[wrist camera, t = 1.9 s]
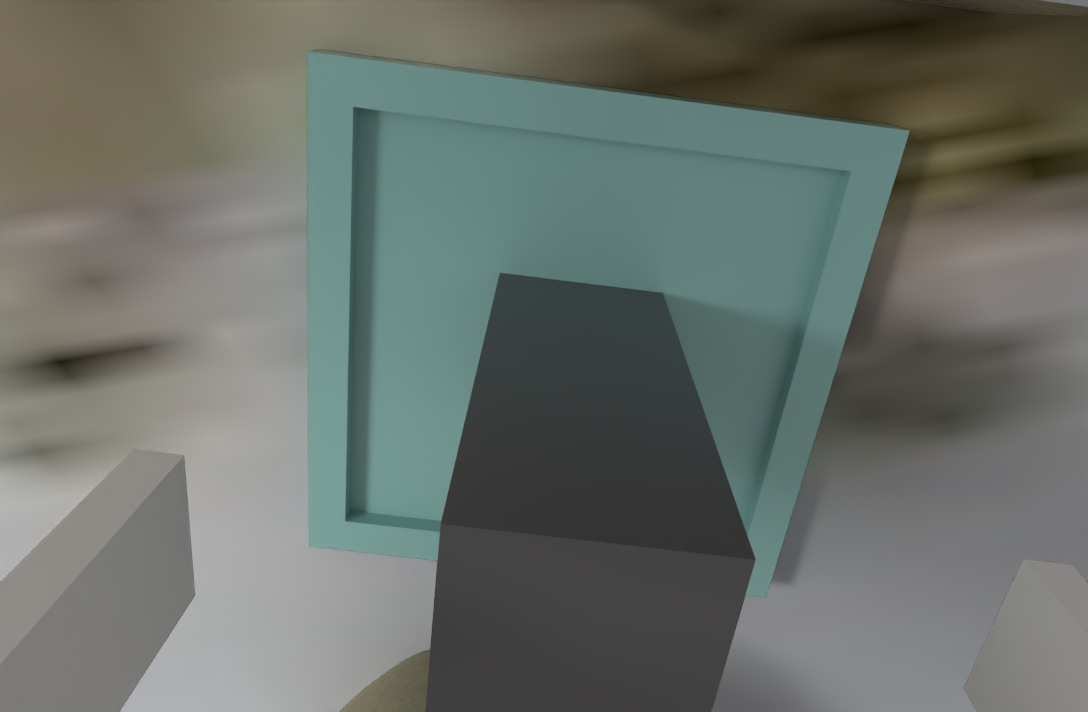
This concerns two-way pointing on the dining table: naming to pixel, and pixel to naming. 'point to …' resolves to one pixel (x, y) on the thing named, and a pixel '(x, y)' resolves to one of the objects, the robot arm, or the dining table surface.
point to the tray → (567, 268)
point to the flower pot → (396, 689)
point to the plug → (585, 516)
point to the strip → (1016, 6)
